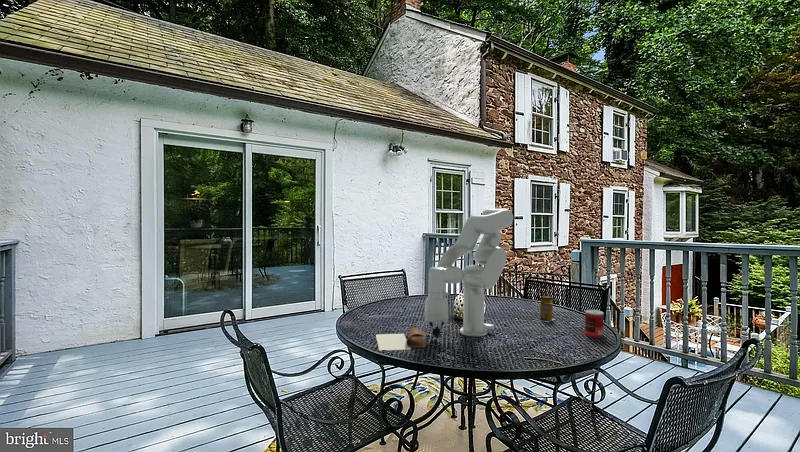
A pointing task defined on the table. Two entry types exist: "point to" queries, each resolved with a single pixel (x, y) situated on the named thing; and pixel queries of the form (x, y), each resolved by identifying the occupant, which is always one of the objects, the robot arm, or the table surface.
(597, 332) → the canned food
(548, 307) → the condiment
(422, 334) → the sunglasses case
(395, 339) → the mat
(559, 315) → the table surface
